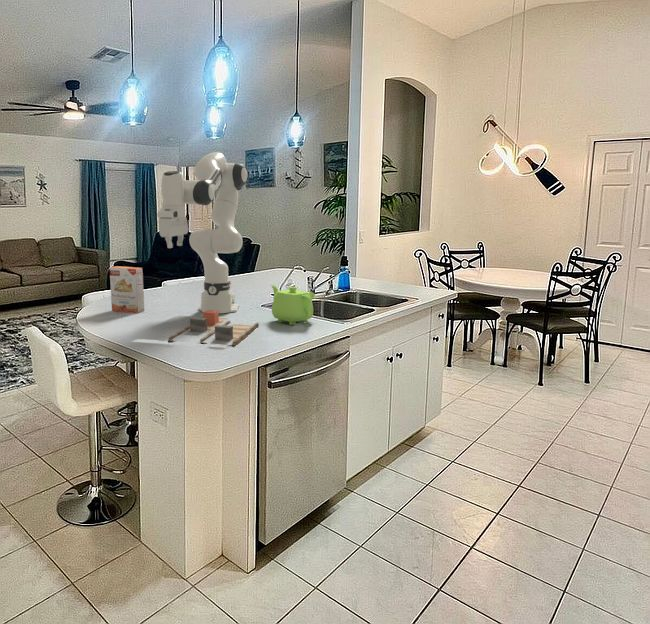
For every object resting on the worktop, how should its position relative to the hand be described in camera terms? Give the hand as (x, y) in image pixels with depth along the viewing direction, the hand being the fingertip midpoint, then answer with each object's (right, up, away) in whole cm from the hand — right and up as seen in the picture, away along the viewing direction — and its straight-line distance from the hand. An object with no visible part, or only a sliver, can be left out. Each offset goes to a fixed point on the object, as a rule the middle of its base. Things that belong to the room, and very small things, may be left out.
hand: (175, 246), depth 223 cm
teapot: (+47, -31, +25) cm, 62 cm away
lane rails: (+18, -36, -3) cm, 40 cm away
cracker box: (-32, -26, +36) cm, 55 cm away
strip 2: (+25, -36, -4) cm, 44 cm away
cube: (+13, -31, +10) cm, 35 cm away
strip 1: (+12, -33, +7) cm, 36 cm away
